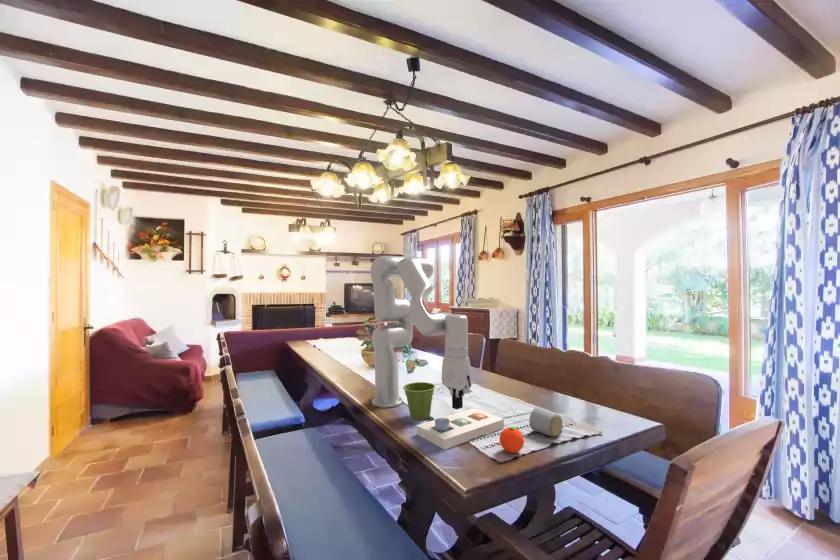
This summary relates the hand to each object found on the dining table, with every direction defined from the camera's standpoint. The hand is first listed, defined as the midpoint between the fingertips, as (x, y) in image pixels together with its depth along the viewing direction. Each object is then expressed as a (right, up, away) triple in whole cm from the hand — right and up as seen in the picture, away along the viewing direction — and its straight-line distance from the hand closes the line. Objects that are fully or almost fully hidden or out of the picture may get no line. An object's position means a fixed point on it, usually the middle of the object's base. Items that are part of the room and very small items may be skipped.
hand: (457, 408), depth 126 cm
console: (+1, -8, +1) cm, 8 cm away
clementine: (+15, -8, -14) cm, 22 cm away
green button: (+1, -8, +1) cm, 8 cm away
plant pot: (-12, -8, +14) cm, 21 cm away
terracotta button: (+8, -8, +6) cm, 12 cm away
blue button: (-5, -6, -4) cm, 9 cm away
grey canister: (+30, -8, -1) cm, 31 cm away
